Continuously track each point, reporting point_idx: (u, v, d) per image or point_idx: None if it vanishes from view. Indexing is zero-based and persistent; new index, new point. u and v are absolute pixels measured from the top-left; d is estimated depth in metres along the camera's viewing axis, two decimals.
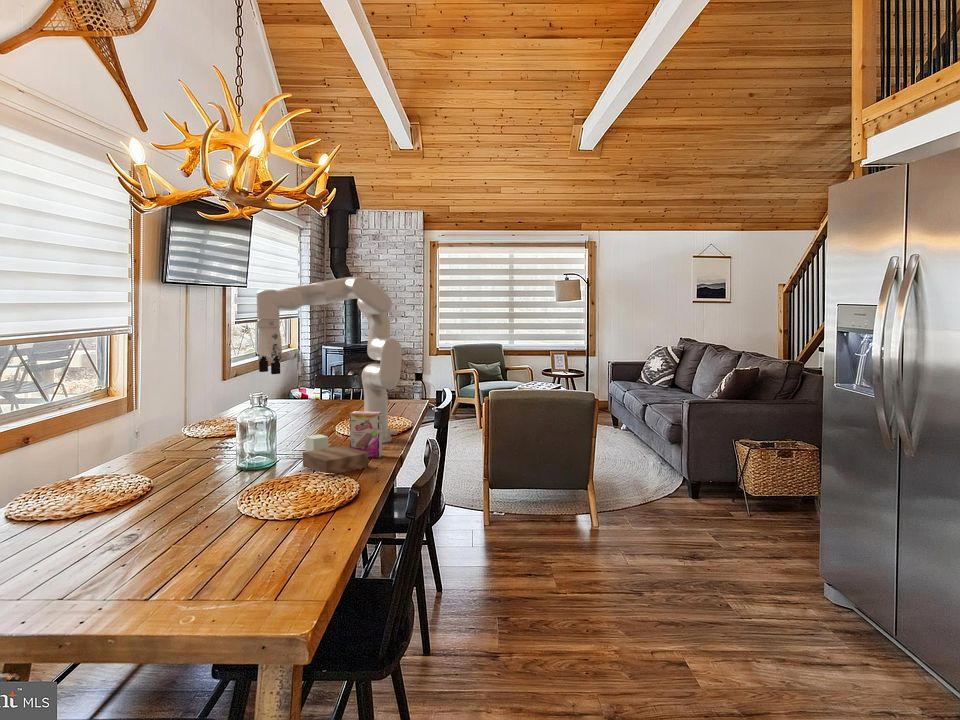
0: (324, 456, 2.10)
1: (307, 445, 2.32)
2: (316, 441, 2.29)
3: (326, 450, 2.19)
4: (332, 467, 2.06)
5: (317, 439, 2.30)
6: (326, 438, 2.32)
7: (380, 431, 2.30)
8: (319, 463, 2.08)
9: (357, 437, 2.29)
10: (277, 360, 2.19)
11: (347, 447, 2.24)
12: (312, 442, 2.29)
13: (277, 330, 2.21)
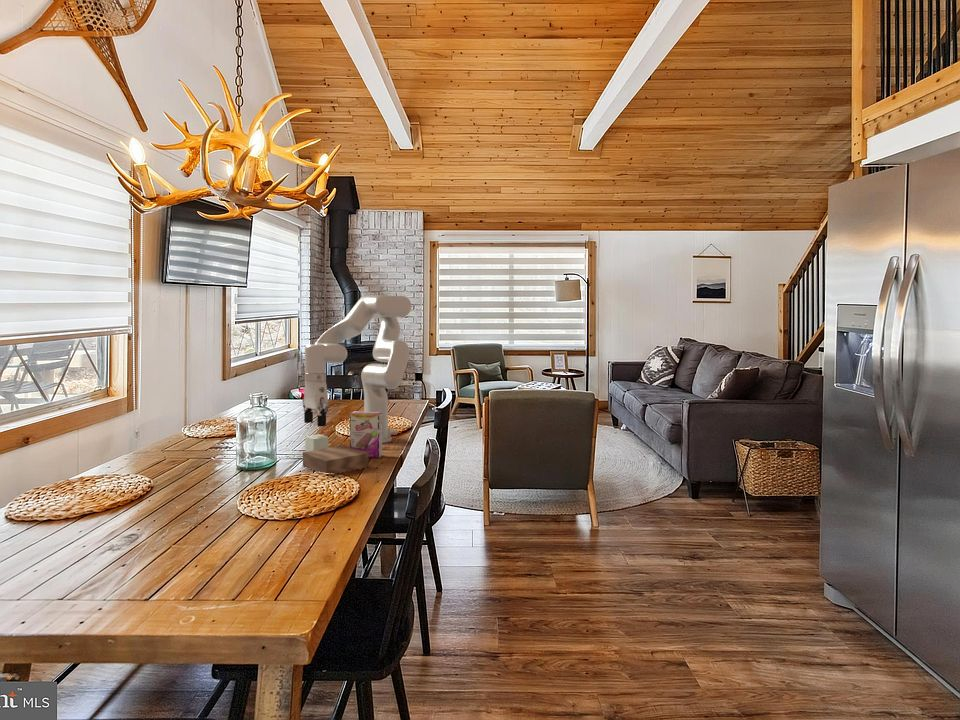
0: (324, 456, 2.10)
1: (307, 445, 2.32)
2: (316, 441, 2.29)
3: (326, 450, 2.19)
4: (332, 467, 2.06)
5: (317, 439, 2.30)
6: (326, 438, 2.32)
7: (380, 431, 2.30)
8: (319, 463, 2.08)
9: (357, 437, 2.29)
10: (324, 413, 2.26)
11: (347, 447, 2.24)
12: (312, 442, 2.29)
13: (324, 384, 2.28)
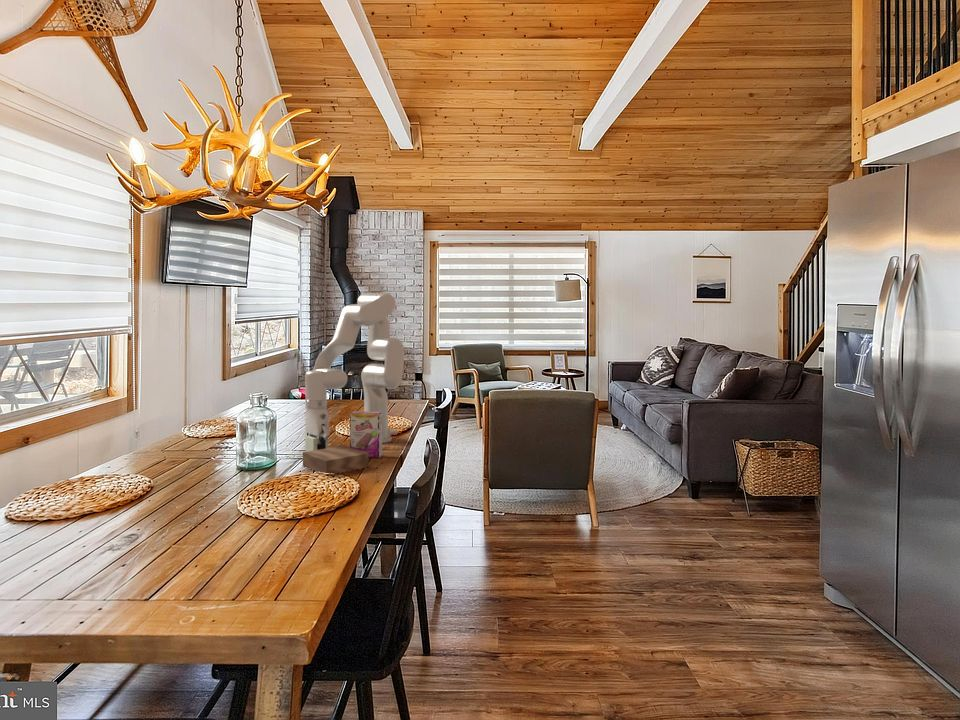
0: (324, 456, 2.10)
1: (307, 445, 2.32)
2: (316, 441, 2.29)
3: (326, 450, 2.19)
4: (332, 467, 2.06)
5: (317, 439, 2.30)
6: None
7: (380, 431, 2.30)
8: (319, 463, 2.08)
9: (357, 437, 2.29)
10: (323, 441, 2.29)
11: (347, 447, 2.24)
12: (312, 442, 2.29)
13: (325, 410, 2.29)
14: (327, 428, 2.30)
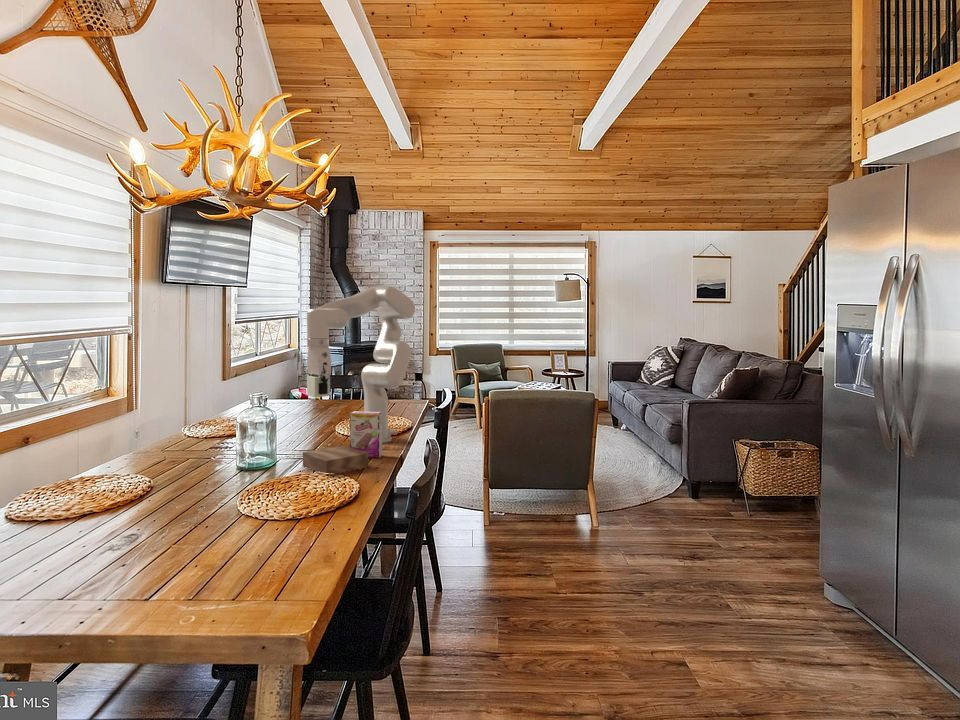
0: (324, 456, 2.10)
1: (308, 385, 2.27)
2: (317, 380, 2.24)
3: (326, 450, 2.19)
4: (332, 467, 2.06)
5: (318, 378, 2.24)
6: None
7: (380, 431, 2.30)
8: (319, 463, 2.08)
9: (357, 437, 2.29)
10: (325, 380, 2.24)
11: (347, 447, 2.24)
12: (313, 381, 2.24)
13: (327, 349, 2.24)
14: (329, 367, 2.25)
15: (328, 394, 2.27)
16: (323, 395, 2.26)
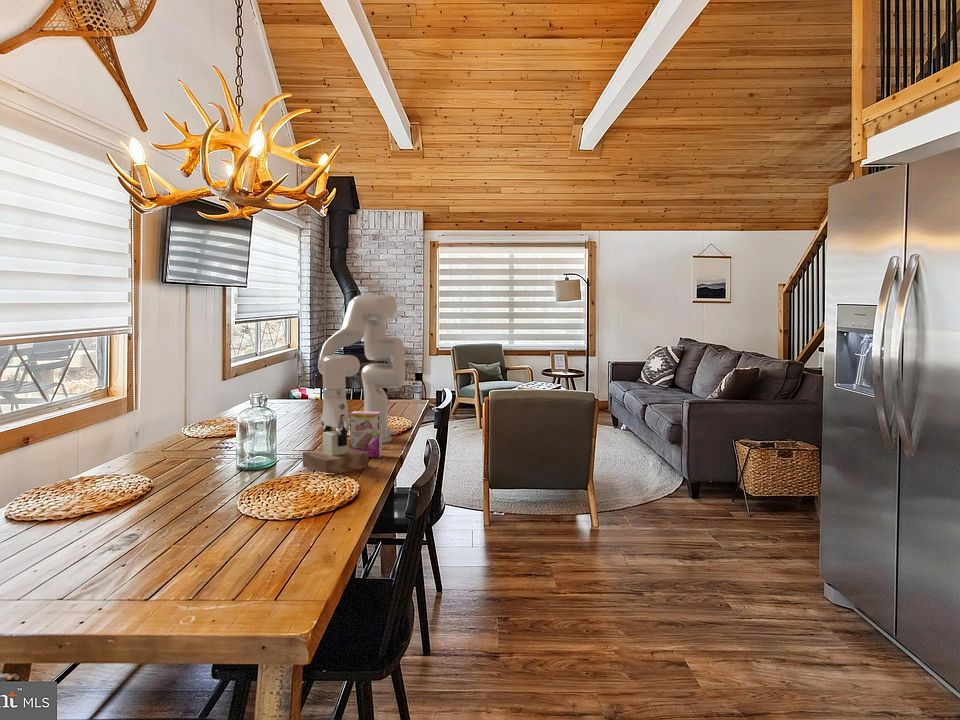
0: (324, 456, 2.10)
1: (324, 442, 2.14)
2: (334, 437, 2.12)
3: None
4: (332, 467, 2.06)
5: (335, 435, 2.12)
6: None
7: (380, 431, 2.30)
8: (319, 463, 2.08)
9: (357, 437, 2.29)
10: (344, 432, 2.10)
11: (347, 447, 2.24)
12: (330, 438, 2.11)
13: (344, 400, 2.12)
14: (346, 419, 2.12)
15: (345, 451, 2.15)
16: (340, 452, 2.14)
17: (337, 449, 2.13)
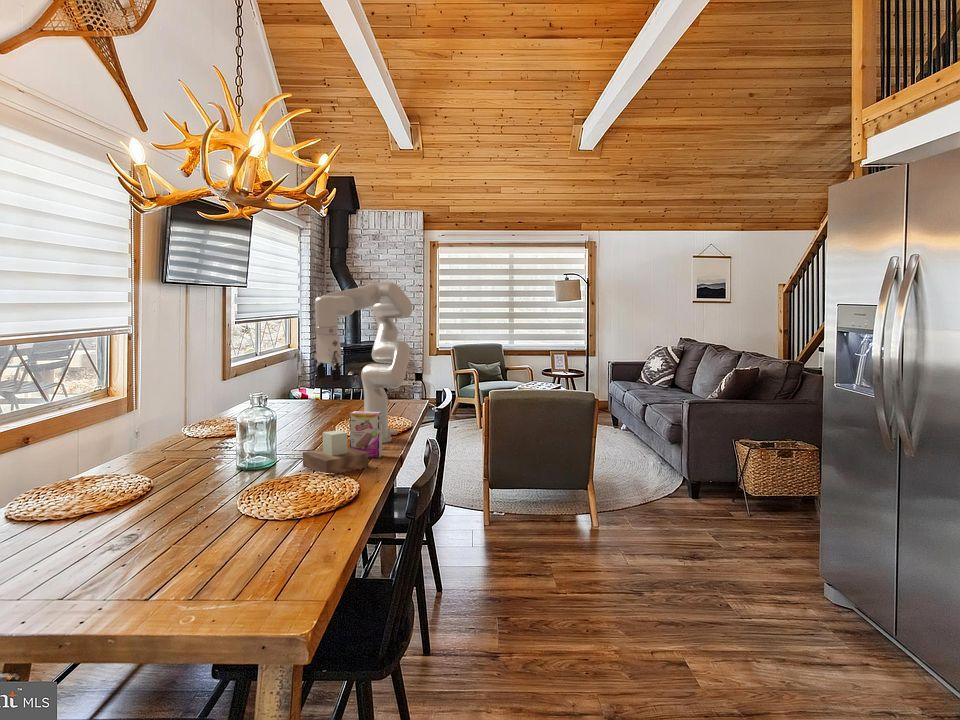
0: (324, 456, 2.10)
1: (324, 442, 2.14)
2: (334, 437, 2.12)
3: None
4: (332, 467, 2.06)
5: (335, 435, 2.12)
6: (345, 434, 2.14)
7: (380, 431, 2.30)
8: (319, 463, 2.08)
9: (357, 437, 2.29)
10: (338, 367, 2.21)
11: (347, 447, 2.24)
12: (330, 438, 2.11)
13: (337, 337, 2.22)
14: (339, 356, 2.23)
15: (345, 451, 2.15)
16: (340, 452, 2.14)
17: (337, 449, 2.13)
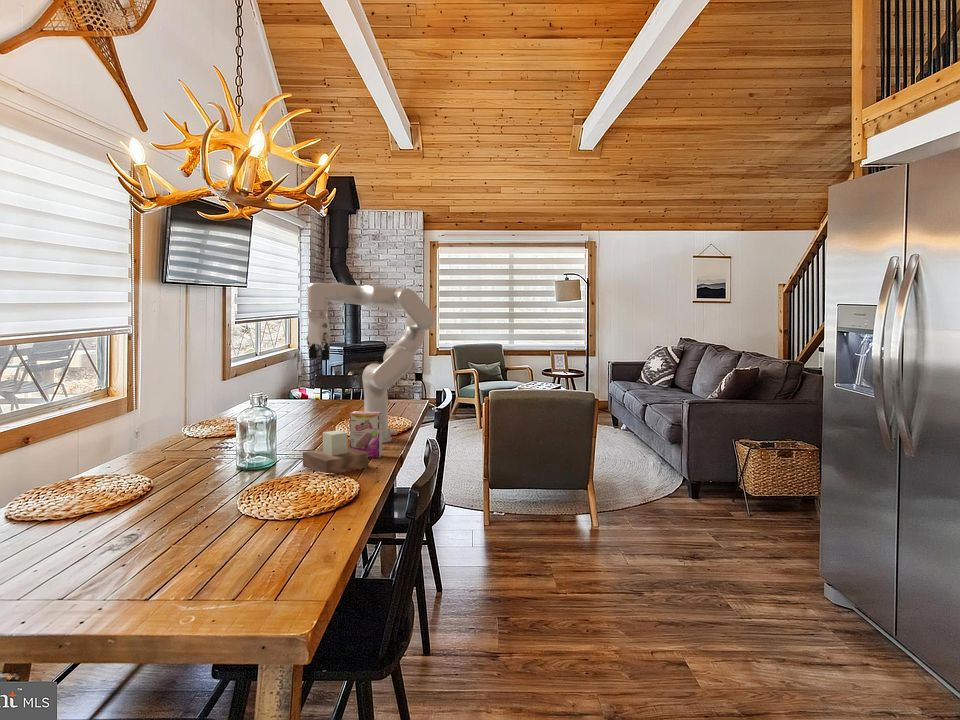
0: (324, 456, 2.10)
1: (324, 442, 2.14)
2: (334, 437, 2.12)
3: None
4: (332, 467, 2.06)
5: (335, 435, 2.12)
6: (345, 434, 2.14)
7: (380, 431, 2.30)
8: (319, 463, 2.08)
9: (357, 437, 2.29)
10: (327, 347, 2.39)
11: (347, 447, 2.24)
12: (330, 438, 2.11)
13: (326, 320, 2.41)
14: (329, 337, 2.41)
15: (345, 451, 2.15)
16: (340, 452, 2.14)
17: (337, 449, 2.13)
